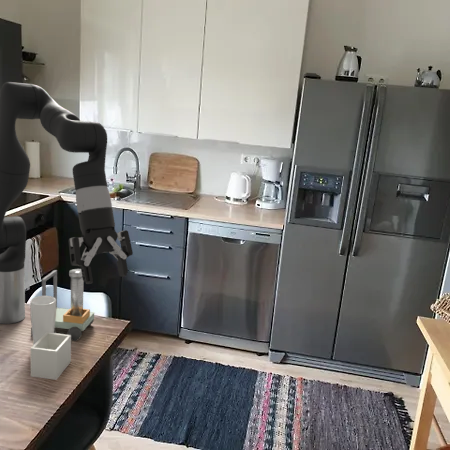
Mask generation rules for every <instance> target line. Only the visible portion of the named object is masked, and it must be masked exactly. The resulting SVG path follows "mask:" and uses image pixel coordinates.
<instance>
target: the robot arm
mask: <svg viewBox="0 0 450 450" xmlns="http://www.w3.org/2000/svg"><path fill="white" fill-rule="evenodd" d="M18 119H19V120H39V121H40V125H41V126H42V127H43V129H44V130H45V131H46V132H47V133H49V134H50V135H51V136H53V137H55V139H56V141H57V142H58V145H59V146H60V148H61V149H62V150H64V151H65V152H69V153H74V154H75V153H81V154H82V153H83V154H84V153H85V154H86V153H88V159H87V160H86V161H81V162H79V163H76V164H74V166H73V167H72V177H73V184H74V190H75V202H76V204H75V205H76V209H77V210H76V211H77V215H78V221H79V228H80V231H81V237H78V236H73V237H70V238H69V239H68V250H69V257H70V265H71V266H72V267H73V266H75V267H79V269H81V272H82V278H83V281H84V283H85V284H86V285H91V284H93V283H94V279H93V278H94V277H93V273H92V267H91V266H90V264H91V261H92V259H93V258H94V257H95V256H96V255H99V254H103V253H104V254H106V253H109V254H110V255H113V257H114V258H115V259H116V265H117V271H118V276H119V277H120V278H121V277H123V278H124V277H126V276H127V274H128V272H129V270H128V264H127V258H129V257H130V256H133V255H134V254H133V253H134V252H133V248H132V243H131V239H130V235H129V231H128V230H121V231H118V232H117V231H116V229H115V227H116V222H115V217H114V210H113V204H112V199H111V194H110V191H109V187H108V183H107V176H106V170H105V169H106V155H107V149H108V148H107V147H108V133H107V131H106V129H105V126H104V125H102V124H101V123H100V122H99V121H98V122H97V121H92V120H91V121H89V120H87V121H86V120H85V121H84V120H80V118H79V117H78V115H76V114H75V113H74V112H71V111H70V110H68V109H66V108H64V107H62V106H61V105H60V104H59V103H57V101H56V100H54V99H53V97H51V95H49V92H47V91H46V90H45V89H44V88H42V87H41V86H39V85H36V84H33V83H24V82H23V83H22V82H12V81H6V82H4V83H3V84H2V85H1V88H0V249H2V248H7V249H6V250H5V251H4V252H2V253H0V324H1V325H3V324H4V325H9V324H10V325H11V324H16V323H18V322H21V321H23V320H24V319H25V318H26V294H25V293H26V291H25V290H26V288H25V286H26V284H25V281H26V280H25V276H26V274H25V273H26V272H25V262H26V261H25V260H26V248H27V245H26V244H27V226H26V223H25V220H24V218H22V217H21V216H18V215H16V216H15V215H13V216H6V214H7V211H8V209H10V207H11V206H12V204H13V203H14V202H15V201H16V200H17V199H18V198H19V197H20V195H21V194H22V193H23V192H24V190H25V189H26V187H27V186H28V183H29V177H30V171H31V162H30V158H29V156H28V154H27V152H26V150H25V148H24V147H23V145H22V143H21V142H20V140H19V137H18V135H17V130H16V122H17V120H18ZM117 240H118V241H119V244H120V245H119V244H118V243H117ZM82 244H83V245H84V246H85V248H84V250H83V252H82V255H81V246H82Z"/></svg>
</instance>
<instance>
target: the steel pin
mask: <svg viewBox="0 0 450 450" xmlns="http://www.w3.org/2000/svg"><path fill="white" fill-rule="evenodd" d="M68 275H69V277H70V308H71V315H73V316H82V315H83V309H84V283H85V282H84V281H83V278H82V272H81V268H74V269H70V270H69V272H68Z"/></svg>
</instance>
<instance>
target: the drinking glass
mask: <svg viewBox="0 0 450 450" xmlns="http://www.w3.org/2000/svg"><path fill="white" fill-rule="evenodd" d="M29 304H30V306H29V307H30V309H29V310H30V312H29V313H30V314H29V315H30V323H31V327H32V334H33V336H32V342H33V343H32V346H33V345H34V344H35V343H36V342H37V341H38V340H39V339H40V338H41V337H42V336H43V335H44V334H45V333H47V332H49V333H54V330H55V328H56V327H55V320H56V299H55V298H54V297H53V295H52V296H51V295H46V296H42V295H40V296H35V297H32V299H30V303H29Z"/></svg>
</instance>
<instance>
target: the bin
mask: <svg viewBox="0 0 450 450" xmlns="http://www.w3.org/2000/svg"><path fill="white" fill-rule="evenodd" d="M71 361H72V340H71V335H67V334H64V333H57V332H55V333H49V332H47V333H45V334H44V335H43V336H42V337H41V338H40V339H39V340H38V341H37V342H36V343H35V344H34V345H33V344H32V346H31V347H30V377H34V378H39V379H40V378H41V379H46V380H47V379H50V380H58V379H59V377H60V376H61V375H62V374H63V373H64V371H65V370H66V368H67V367H68V366H69V365H70V364H71V363H72V362H71Z"/></svg>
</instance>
